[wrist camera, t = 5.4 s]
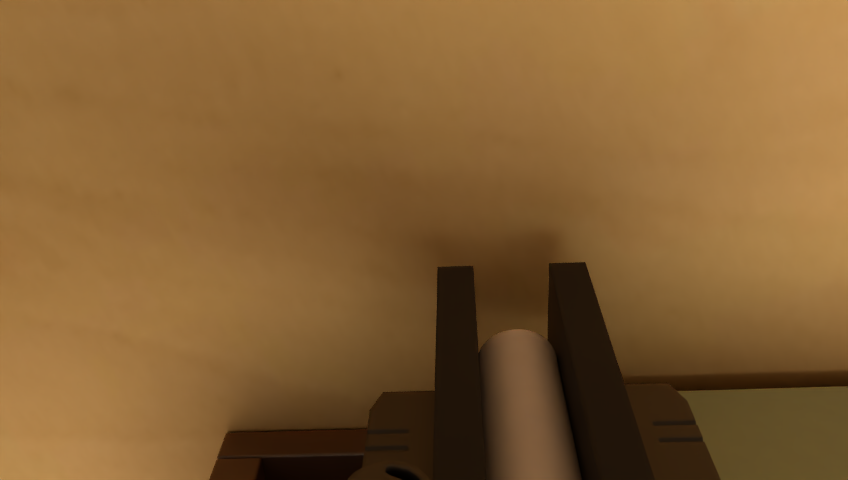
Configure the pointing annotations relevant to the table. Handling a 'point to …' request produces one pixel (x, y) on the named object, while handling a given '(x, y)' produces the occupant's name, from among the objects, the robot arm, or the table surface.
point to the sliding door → (713, 409)
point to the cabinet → (290, 455)
